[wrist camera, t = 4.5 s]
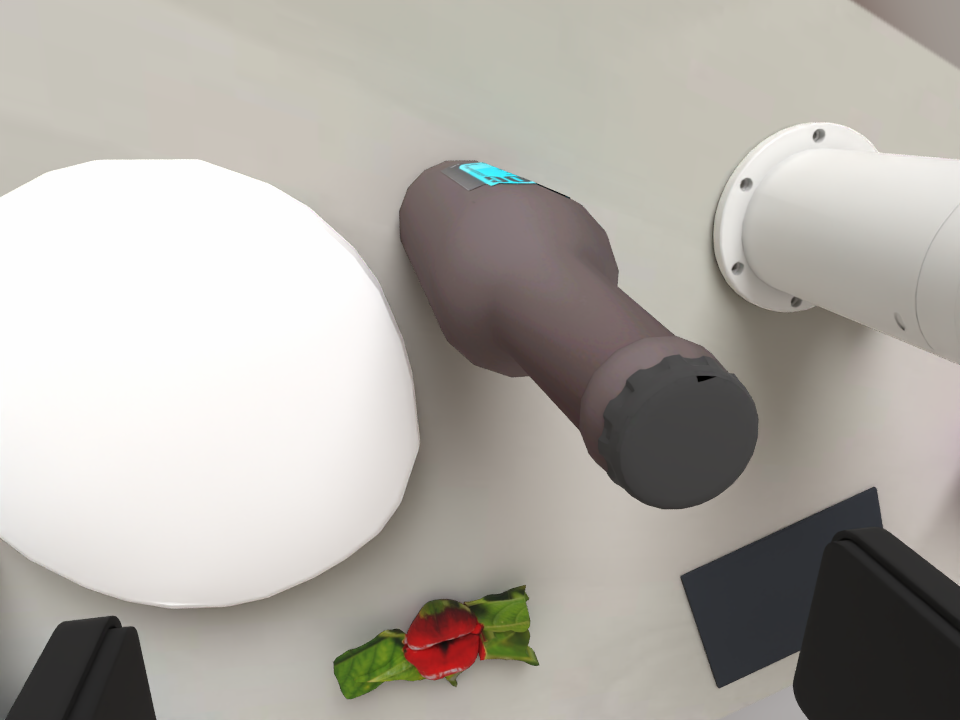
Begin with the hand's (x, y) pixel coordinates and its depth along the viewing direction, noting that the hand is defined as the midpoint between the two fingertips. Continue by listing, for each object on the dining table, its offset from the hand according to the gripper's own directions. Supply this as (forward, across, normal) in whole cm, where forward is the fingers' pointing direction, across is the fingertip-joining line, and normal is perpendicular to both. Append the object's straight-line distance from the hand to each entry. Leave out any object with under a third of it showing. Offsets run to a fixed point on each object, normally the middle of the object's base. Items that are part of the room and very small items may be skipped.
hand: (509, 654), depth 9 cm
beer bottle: (+34, -5, 0) cm, 35 cm away
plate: (+34, +12, +9) cm, 37 cm away
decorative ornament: (+34, -3, +32) cm, 47 cm away
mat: (+34, -34, +32) cm, 58 cm away
